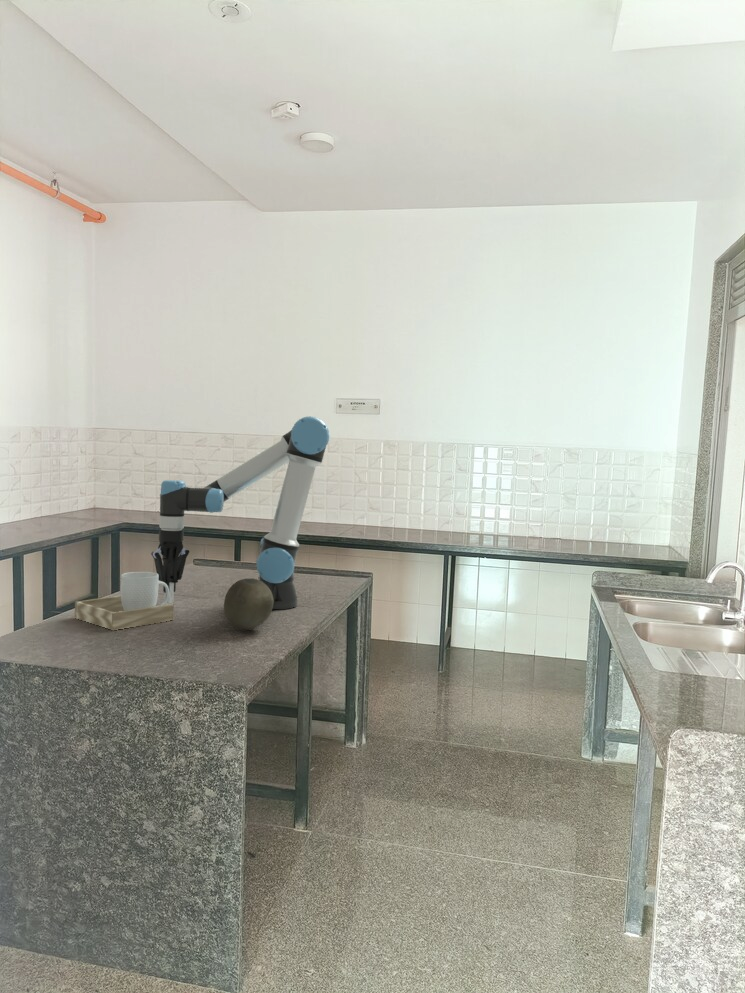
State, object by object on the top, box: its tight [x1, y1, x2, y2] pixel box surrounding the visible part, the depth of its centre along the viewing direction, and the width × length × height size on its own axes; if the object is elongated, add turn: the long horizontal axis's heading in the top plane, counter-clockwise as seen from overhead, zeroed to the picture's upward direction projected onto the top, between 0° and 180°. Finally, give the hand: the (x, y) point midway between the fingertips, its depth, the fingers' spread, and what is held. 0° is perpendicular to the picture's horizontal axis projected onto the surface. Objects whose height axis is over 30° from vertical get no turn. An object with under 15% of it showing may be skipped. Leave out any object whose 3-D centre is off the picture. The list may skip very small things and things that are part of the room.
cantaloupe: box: [223, 578, 274, 631], centre depth 214 cm, size 14×14×15 cm
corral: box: [74, 594, 175, 631], centre depth 220 cm, size 21×20×5 cm
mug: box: [120, 571, 169, 611], centre depth 226 cm, size 15×11×13 cm
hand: (168, 602), depth 233 cm, fingers closed
